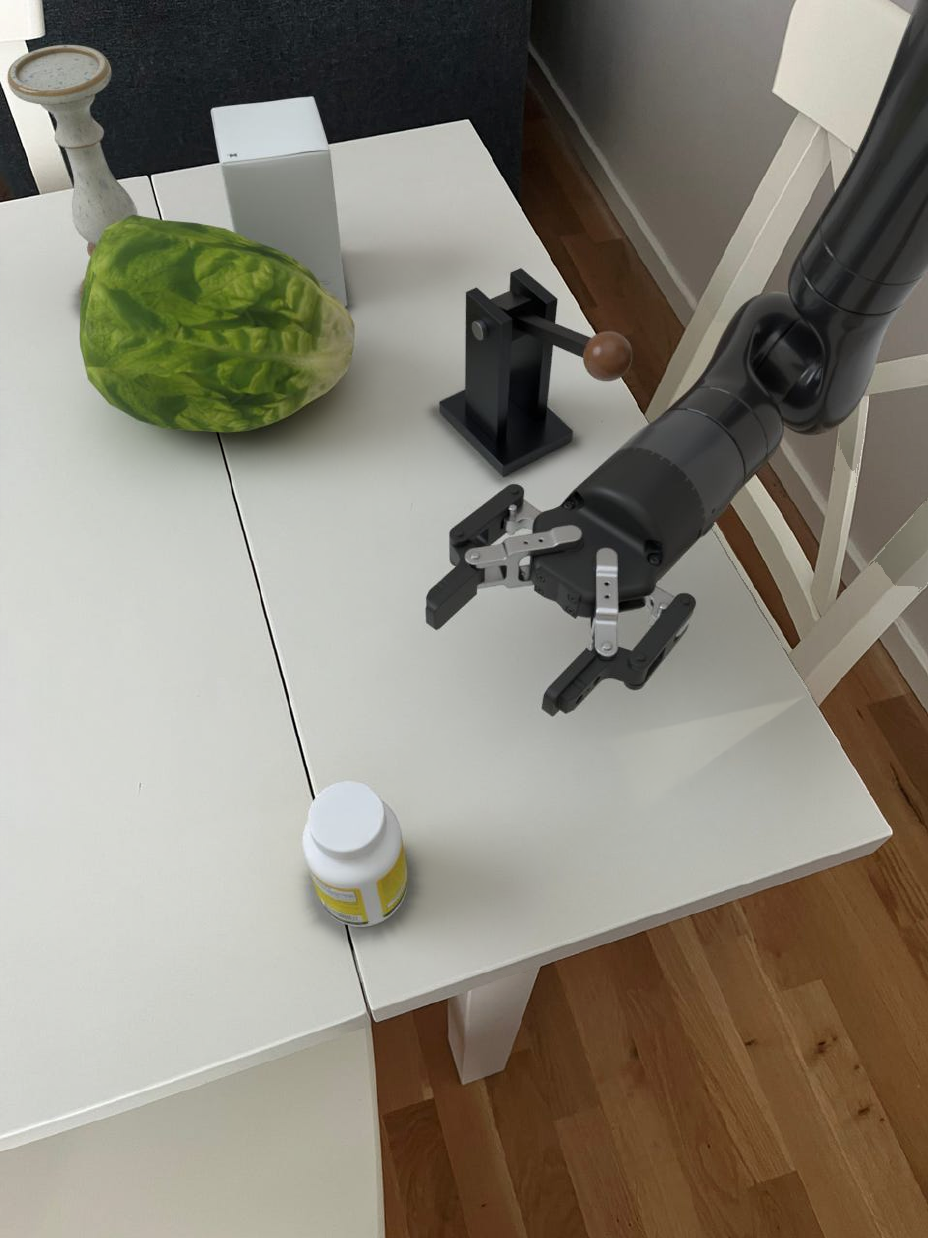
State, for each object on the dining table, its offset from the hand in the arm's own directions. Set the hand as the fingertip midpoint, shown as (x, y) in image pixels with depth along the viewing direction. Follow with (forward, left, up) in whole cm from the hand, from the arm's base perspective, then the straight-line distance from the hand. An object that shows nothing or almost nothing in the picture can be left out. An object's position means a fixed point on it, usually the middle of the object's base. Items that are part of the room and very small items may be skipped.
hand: (487, 661), depth 54 cm
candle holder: (+52, -24, -11) cm, 58 cm away
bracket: (+14, -27, -11) cm, 32 cm away
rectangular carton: (+40, -33, -11) cm, 53 cm away
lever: (+9, -25, 0) cm, 26 cm away
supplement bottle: (+2, +11, -11) cm, 16 cm away
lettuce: (+35, -18, -11) cm, 41 cm away
